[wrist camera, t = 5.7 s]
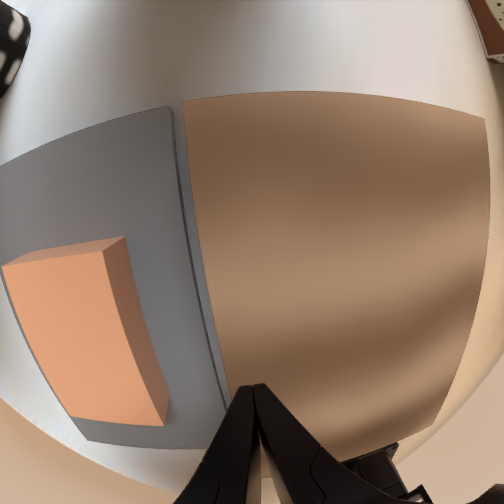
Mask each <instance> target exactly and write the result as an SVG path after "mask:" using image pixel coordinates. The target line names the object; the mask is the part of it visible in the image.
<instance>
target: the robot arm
mask: <svg viewBox="0 0 504 504" xmlns="http://www.w3.org/2000/svg"><path fill="white" fill-rule="evenodd" d="M252 388H253V389H252ZM260 439H261V442H260ZM261 444H262V448H263V451H264V454H265V458H266V461H267V464H268V467H269V470H270V473H271V476H272V479H273V482H274V485H275V488H276V491H277V494H278V496H279V499H280V502H281V504H433V502H432V500H431V499H430V497H429V495H428V494H427V492H426V490H425V489H424V487H423V485H422V484H421V485H420V486H418V487H417V488H416V489H415V490H413V491H411V492H410V493H408V491H407V489H406V487H405V485H404V483H403V481H402V479H401V477H400V475H399V473H398V471H397V470H396V468H395V466H394V464H393V462H392V460H391V459H392V458H393V456H394V454H395V452H396V450H397V448H398V446H399V444H398V442H395V443H392V444H390V445H387V446H385V447H382V448H380V449H377V450H375V451H372V452H369V453H366V454H363V455H360V456H357V457H354V458H351V459H348V460H345V461H341V462H339V461H338V460H337V459H335V458H334V457H333V456H332V455H331V454H330V453H329V452H328V451H327V450H326V449H325V448H324V447H323V446H321V444H320V443H319V442H318V441H317V440H316V439H315V438H314V437H313V436H312V435H311V434H310V433H309V432H308V431H307V430H306V428H305V427H304V426H303V425H302V424H301V423H300V422H299V421H298V420H297V419H296V418H295V417H294V415H293V414H292V413H291V412H290V411H289V410H288V409H287V408H286V407H285V405H284V404H283V403H282V402H281V401H280V400H279V399H278V398H277V396H276V395H275V394H274V393H273V392H272V391H271V390H270V388H269V387H268V386H267V385H266V384H265V383H259V384H253V386H251V385H244V386H240V387H239V388H238V389H237V392H236V394H235V396H234V398H233V400H232V402H231V404H230V406H229V408H228V410H227V412H226V414H225V416H224V418H223V420H222V422H221V424H220V426H219V428H218V430H217V432H216V434H215V436H214V438H213V440H212V442H211V444H210V445H209V447H208V449H207V451H206V453H205V455H204V457H203V459H202V462H200V464H199V466H198V468H197V470H196V471H195V473H194V475H193V476H192V478H191V480H190V481H189V483H188V484H187V486H186V487H185V489H184V490H183V491H182V493H181V494H180V495H179V497H178V498H177V499H176V500H175V502H174V503H173V504H261ZM419 499H422V502H416V501H418V500H419ZM467 504H504V484H495V485H494V486H492V487H491V488H490V489H488V490H487V491H486V492H485V493H484V494H482V495H481V496H480V497H479V498H477V499H476V500H474V501H472V502H470V503H467Z"/></svg>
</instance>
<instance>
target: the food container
mask: <svg viewBox="0 0 504 504" xmlns="http://www.w3.org/2000/svg"><path fill="white" fill-rule="evenodd" d="M465 1H466V3H467V6H468V8H469V10H470V13H471V15H472V18H473V20H474V23H475V25H476V28H477V31H478V34H479V37H480V40H481V43H482V46H483V49H484V53H485V56H486V59H488V60H489V61H491V62H493V63H498V64H504V0H465Z"/></svg>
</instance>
